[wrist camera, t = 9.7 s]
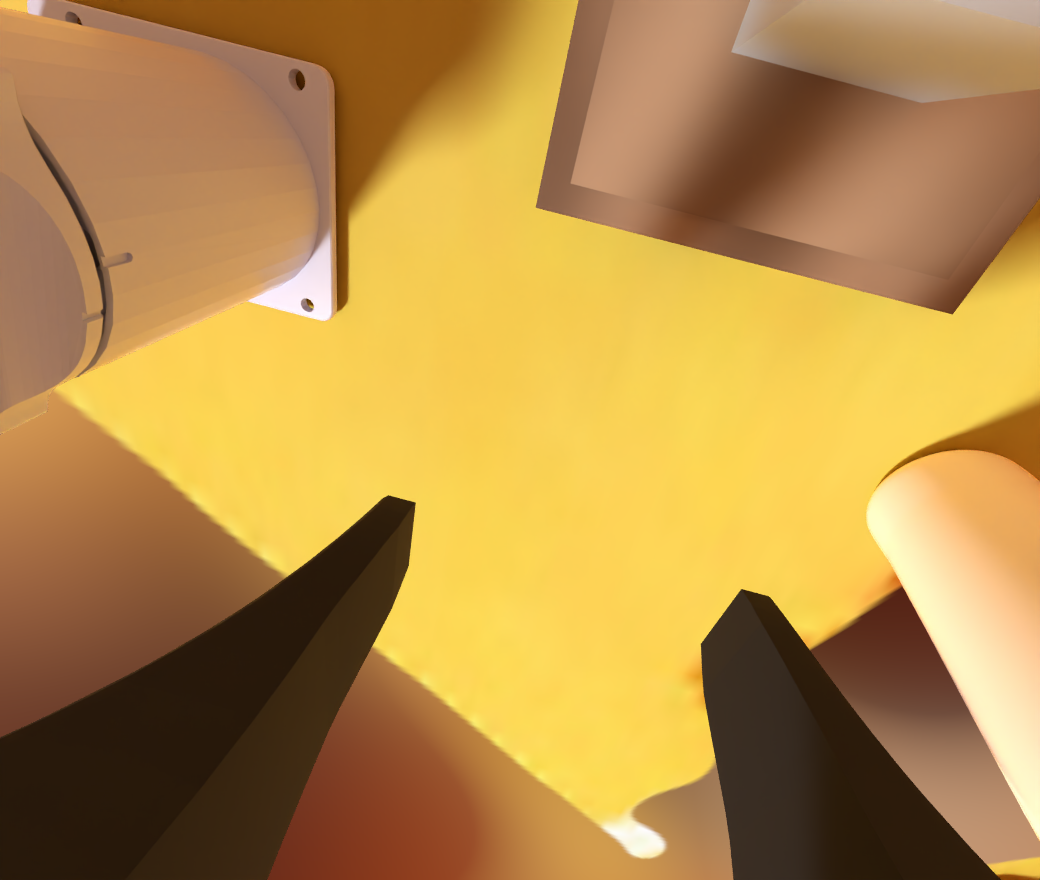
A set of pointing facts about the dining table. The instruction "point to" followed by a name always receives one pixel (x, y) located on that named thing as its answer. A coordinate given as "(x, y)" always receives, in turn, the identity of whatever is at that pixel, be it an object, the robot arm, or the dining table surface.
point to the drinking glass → (975, 591)
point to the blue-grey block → (901, 44)
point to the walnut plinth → (783, 156)
